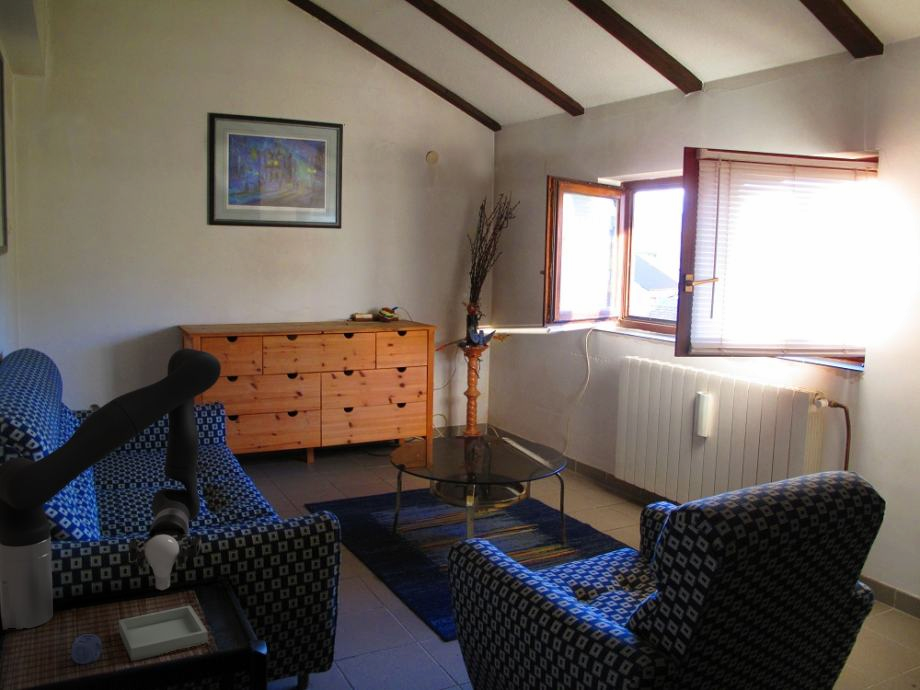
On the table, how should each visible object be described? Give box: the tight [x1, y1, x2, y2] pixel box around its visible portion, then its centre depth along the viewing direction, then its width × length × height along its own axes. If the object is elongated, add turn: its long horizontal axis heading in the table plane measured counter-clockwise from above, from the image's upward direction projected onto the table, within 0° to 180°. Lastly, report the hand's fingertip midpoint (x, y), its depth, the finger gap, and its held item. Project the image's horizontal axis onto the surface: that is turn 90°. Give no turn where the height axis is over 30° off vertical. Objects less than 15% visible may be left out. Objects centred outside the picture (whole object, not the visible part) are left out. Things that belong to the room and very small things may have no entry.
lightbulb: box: [145, 534, 179, 591], centre depth 161 cm, size 6×6×11 cm
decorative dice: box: [70, 633, 102, 665], centre depth 154 cm, size 4×4×4 cm
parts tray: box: [118, 605, 209, 662], centre depth 162 cm, size 14×13×2 cm
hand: (161, 562), depth 158 cm, fingers closed on lightbulb, 6 cm apart
